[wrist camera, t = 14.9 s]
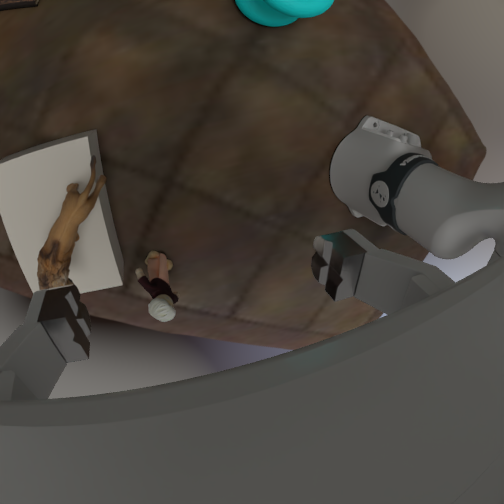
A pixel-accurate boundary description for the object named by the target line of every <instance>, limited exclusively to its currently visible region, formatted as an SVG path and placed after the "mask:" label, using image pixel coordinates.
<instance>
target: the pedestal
mask: <svg viewBox="0 0 504 504" xmlns="http://www.w3.org/2000/svg"><path fill="white" fill-rule="evenodd" d="M92 155H95V156H96V164H95V170H96V177H95V181H94V184H93V187H92V189H91V191H90V193H89V195H90V194H91V193H92V192H93V191H94V189H95V186H96V181H97V178H98V176H99V175H103V169H102V163H101V157H100V151H99V145H98V138H97V130H96V129H95V130H91V131H87V132H83V133H79V134H75V135H71V136H68V137H64V138H60V139H57V140H54V141H50V142H47V143H44V144H41V145H38V146H35V147H32V148H29V149H26V150H23V151H20V152H17V153H15V154H12V155H9V156H7V157H5V158H4V159H2V160H0V214H1V217H2V220H3V223H4V226H5V228H6V231H7V234H8V237H9V239H10V242H11V244H12V247H13V250H14V252H15V254H16V257H17V259H18V262H19V264H20V266H21V268H22V271H23V273H24V275H25V277H26V279H27V281H28V284H29V286H30V288H31V290H32V292H33V294H34V292H36V291H39V284H38V282H39V281H38V277H37V272H38V270H37V268H38V261H37V258H38V255H39V251H40V250H41V248H42V247H43V246H44V244H45V242H46V240H47V238H48V235H49V232H50V230H51V228H52V226H53V225H54V223H55V221H56V220H57V218H58V217H59V216H60V212H61V209H62V204H63V201H64V200H65V197H66V194H67V193H68V192H67V191H66V188H67V186H68V185H69V184H71V183H74V184H75V183H78V184H79V187H78V192H79V193H80V194H81V193H82V192H83V191H84V190H85V188H86V186H87V185H88V183H89V180H90V177H91V167H90V162H91V157H92ZM77 233H78V235H79V240H78V241H76V242H75V247H74V250H73V253H72V255H71V264H70V266H69V270H70V272H69V276H68V278H70V279H71V280H72V281H73V283H74V284H75V285H76V286H77V288H78V290H79V292H80V293H85V292H90V291H95V290H100V289H105V288H110V287H115V286H120V285H123V268H124V260H123V256H122V253H121V249H120V245H119V242H118V238H117V234H116V230H115V226H114V222H113V217H112V213H111V209H110V204H109V200H108V195H107V190H106V185H105V184H104V186H103V187H102V189H101V191H100V193H99V195H98V198H97V201H96V203H95V206H94V208H93V209H92V210H91V212H90V214H89V215H88V217H87V218H86V219H85V220H84V221H83V222H82V223H81V224H79V227H78V231H77Z"/></svg>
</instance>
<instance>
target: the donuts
mask: <svg viewBox="0 0 504 504" xmlns="http://www.w3.org/2000/svg"><path fill="white" fill-rule="evenodd" d="M235 2H236V4H237V6H238V8H239V9H240V11H241V12H242V13H243V14H244V15H245V16H246V17H248V18H249V19H250V20H252V21H254V22H256V23H258V24H261V25H265V26H271V27H279V26H285V25H288V24H290V23H292V22H294V21H296V20H297V19H298V18H309V17H314V16H317V15H320V14H322V13H323V12H325V11H326V10H327V9H328V8H329V7H330V6H331V5H332V3H333V2H334V0H235Z"/></svg>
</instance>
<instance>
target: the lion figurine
mask: <svg viewBox="0 0 504 504" xmlns="http://www.w3.org/2000/svg"><path fill="white" fill-rule="evenodd" d="M95 164H96V156H95V155H92V157H91V162H90V167H91V177H90V180H89V183H88V185H87V186H86V188H85V190H84V191H83V192H82V193H81V194H80V193H79V192H78V187H79V184H78V183H75V184H74V183H71V184H69V185H68V186H67V188H66V191H67V192H68V193H67V194H66V197H65V200H64V201H63V204H62V209H61V212H60V216H59V217H58V218H57V220H56V221H55V223H54V225H53V226H52V228H51V230H50V232H49V235H48V238H47V240H46V242H45V244H44V246H43V247H42V248H41V250H40V251H39V255H38V258H37V261H38V268H37V270H38V272H37V277H38V281H39V282H38V284H39V290H43V289H49V288H54V287H60V286H66V285H71V284H74V283H73V281H72V280H71V279H70V278H68V276H69V272H70V270H69V266H70V264H71V255H72V253H73V250H74V247H75V242H76V241H78V240H79V235H78V233H77V231H78V227H79V224H81V223H82V222H83V221H84V220H85V219H86V218H87V217H88V215H89V214H90V212H91V210H92V209H93V208H94V206H95V203H96V201H97V198H98V195H99V193H100V191H101V189H102V187H103V186H104V184H105V183H106V176H104V175H99V176H98V178H97V181H96V186H95V189H94V191H93V192H92V193H91V194H90V195H89V193H90V191H91V189H92V187H93V184H94V181H95V177H96V170H95ZM74 285H75V284H74Z"/></svg>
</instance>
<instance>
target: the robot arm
mask: <svg viewBox="0 0 504 504" xmlns="http://www.w3.org/2000/svg"><path fill="white" fill-rule="evenodd" d="M373 124H374V126H373ZM330 181H331V186H332V189H333V191H334V193H335V195H336V196H337V197H338V199H339V200H341V201H342V202H343V203H345V204H346V205H347V206H348V207H349V210H350V212H351V214H352V215H353V216H355V217H357V218H359V217H362V216H365V217H366V218H368V219H370V220H372V221H373V222H375V223H377V224H379V225H380V226H385V225H389V226H390V227H391V228H392V229H393V230H395V231H398V232H399V233H401V234H403V235H408V236H409V237H411V238H412V239H413V240H415V241H416V242H417V243H419V244H420V245H421V246H423V247H424V248H425V249H427V250H428V251H429V252H431V253H432V254H433V255H434V256H436V257H438V258H442V259H454V258H457V257H459V256H462V255H463V254H465V253H467V252H468V251H469V250H471V249H472V248H473V247H474V246H475V245H477V244H478V243H479V242H481V241H483V240H484V239H488V238H493V239H494V240H495V242H496V245H495V248H494V249H495V250H494V252H493V254H492V256H491V258H490V260H489V262H488V264H487V266H485V267H483V268H482V269H480V270H478V271H476V272H475V273H473V274H471V275H469V276H467V277H466V278H464V279H462V280H460V281H458V282H456V283H455V282H454V281H453V280H452V279H451V278H449V277H448V276H447V275H446V274H445V273H443V272H442V271H441V270H440V269H439V268H437V267H436V266H433V265H430V264H427V263H424V262H421V261H418V260H415V259H412V258H409V257H406V256H403V255H400V254H397V253H394V252H391V251H388V250H385V249H378V248H377V247H376V246H374V245H373V244H372V243H371V242H370V241H368V240H367V239H366V238H365V237H363V236H362V235H361V234H360V233H358V232H357V231H356V230H354V229H347V230H343V231H340V232H335V233H331V234H326V235H321V236H317V237H316V238H315V240H314V245H313V248H314V249H315V250H316V253H315V254H314V256H313V257H312V263H311V267H312V272H313V275H314V277H315V279H316V280H317V281H318V282H319V283H321V284H324V285H325V291H326V292H327V293H328V294H329V296H330V297H331V298H332V299H333V300H334V301H339V300H342V299H346V298H349V297H352V296H354V297H355V298H357V299H359V300H361V301H363V302H365V303H367V304H369V305H370V306H372V307H374V308H376V309H378V310H380V311H382V312H384V313H386V314H387V316H384V317H382V318H379V319H377V320H375V321H372V322H370V323H367V324H365V325H362V326H360V327H357V328H355V329H352V330H350V331H347V332H344V333H342V334H339V335H336V336H334V337H331V338H328V339H325V340H323V341H320V342H317V343H314V344H311V345H308V346H305V347H302V348H299V349H296V350H293V351H290V352H287V353H284V354H280V355H278V356H274V357H271V358H267V359H264V360H261V361H257V362H254V363H250V364H246V365H243V366H239V367H235V368H232V369H228V370H224V371H220V372H216V373H212V374H208V375H204V376H199V377H195V378H190V379H186V380H181V381H177V382H172V383H166V384H161V385H157V386H151V387H146V388H139V389H133V390H127V391H120V392H113V393H106V394H98V395H90V396H80V397H70V398H58V399H48V397H49V395H50V394H51V392H52V390H53V388H54V386H55V384H56V383H57V381H58V379H59V377H60V375H61V373H62V372H63V370H64V368H65V367H66V365H67V364H66V363H68V362H75V361H81V360H86V359H89V350H90V349H89V348H90V342H89V341H88V339H87V337H88V335H89V334H90V333H91V322H90V316H89V313H88V310H87V308H86V306H85V304H83V303H82V302H80V295H81V294H80V292H79V290H78V288H77V286H76V285H74V284H71V285H66V286H60V287H54V288H49V289H43V290H39V291H36V292H34V294H33V297H32V300H31V303H30V305H29V308H28V312H27V315H26V318H25V321H24V324H23V325H20V326H19V327H18V328H17V329H16V330H15V331H14V332H13V333H12V334H11V336H10V337H9V338H8V339H7V340H6V341H5V342H4V343H3V344H2V346H1V347H0V504H504V182H502V183H481V182H476V181H473V180H470V179H467V178H464V177H462V176H459V175H457V174H454V173H452V172H450V171H448V170H445V169H443V168H441V167H439V166H438V164H437V163H435V162H434V161H433V160H432V157H431V154H430V152H429V151H428V150H426V149H423V148H421V143H420V138H419V136H418V135H416V134H414V133H412V132H410V131H407V130H405V129H402V128H400V127H398V126H395V125H393V124H390V123H388V122H385V121H382V120H380V119H377V118H374V117H371V116H365V117H364V118H363V119H362V121H361V122H360V124H359V125H358V127H357V128H356V129H355V130H354V131H353V132H352V133H350V134H349V135H348V136H346V137H345V138H344V139H343V141H342V142H341V143H340V144H339V146H338V147H337V149H336V151H335V153H334V156H333V159H332V162H331V167H330Z"/></svg>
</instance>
